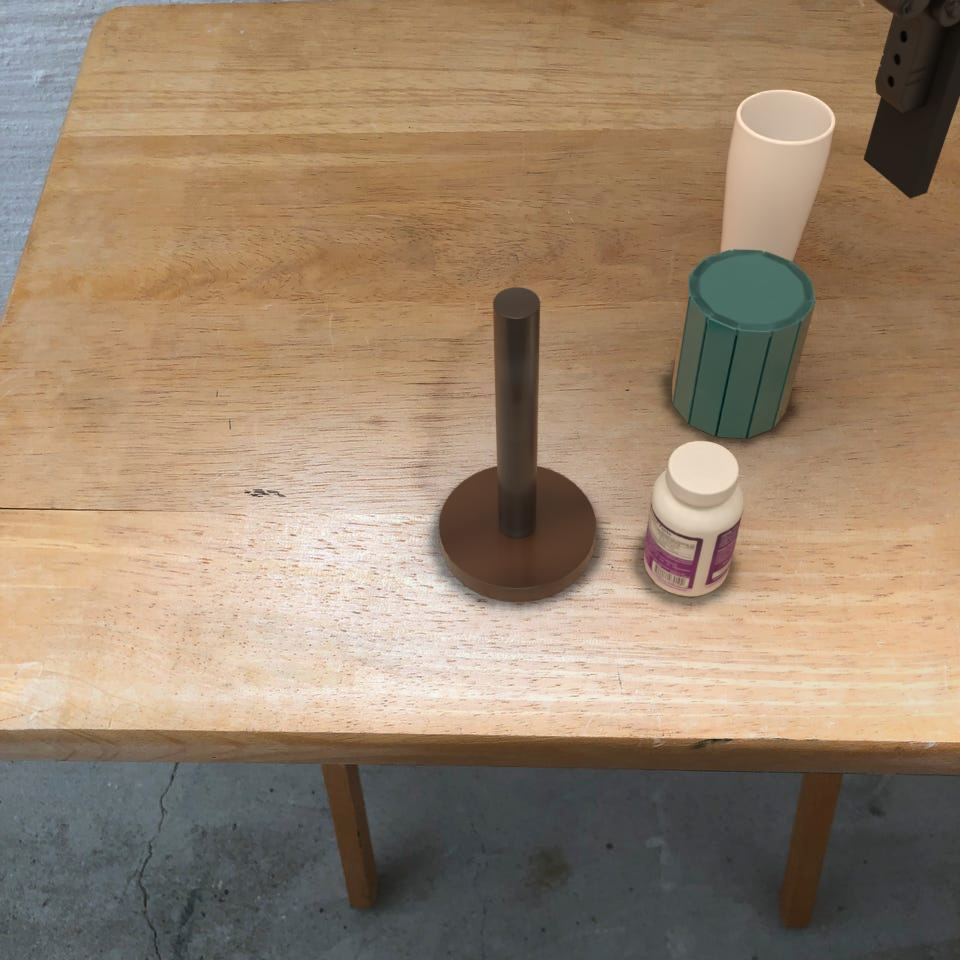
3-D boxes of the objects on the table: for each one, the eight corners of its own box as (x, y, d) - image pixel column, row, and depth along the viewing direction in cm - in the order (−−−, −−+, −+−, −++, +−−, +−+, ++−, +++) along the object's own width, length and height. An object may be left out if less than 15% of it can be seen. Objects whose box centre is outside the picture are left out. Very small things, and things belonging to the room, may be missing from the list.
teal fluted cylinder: (808, 415, 77) (840, 307, 69) (710, 453, 75) (732, 346, 67) (745, 344, 82) (768, 236, 74) (651, 378, 80) (665, 270, 72)
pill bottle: (707, 522, 71) (729, 421, 64) (741, 587, 68) (769, 489, 61) (629, 541, 71) (642, 442, 63) (660, 608, 67) (677, 512, 60)
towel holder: (623, 566, 69) (652, 332, 54) (479, 625, 67) (466, 398, 52) (551, 458, 75) (559, 219, 60) (416, 509, 73) (388, 273, 57)
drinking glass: (794, 262, 88) (836, 91, 76) (794, 319, 83) (838, 147, 72) (708, 254, 89) (736, 84, 77) (704, 310, 84) (733, 139, 73)
